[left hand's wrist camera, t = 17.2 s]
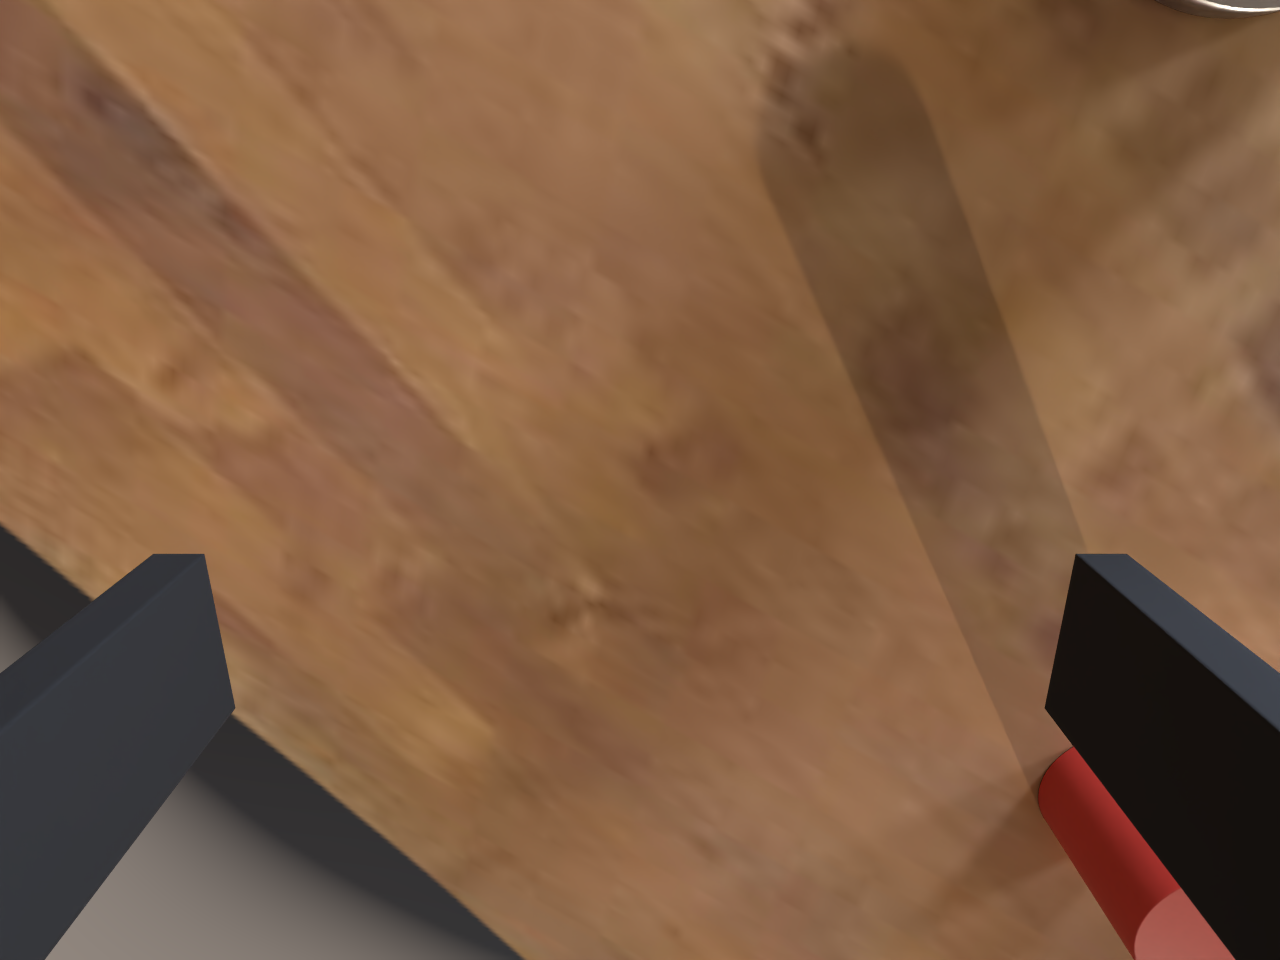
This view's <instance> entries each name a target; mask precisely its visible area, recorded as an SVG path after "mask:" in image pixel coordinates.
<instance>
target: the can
mask: <svg viewBox="0 0 1280 960" xmlns="http://www.w3.org/2000/svg"><path fill="white" fill-rule="evenodd" d="M1038 800H1039V807H1040V811H1041V813H1042V815H1043V817H1044V819H1045V820H1046V822H1047V823H1048V825H1049V827H1050V828H1051V830H1052V831H1053V833H1054V834H1055V836H1056V838H1057V839H1058V841H1059V842H1060V844H1061V845H1062V847H1063V849H1064V850H1065V852H1066V853H1067V855H1068V856H1069V858H1070V860H1071V861H1072V863H1073V864H1074V866H1075V867H1076V869H1077V871H1078V872H1079V874H1080V875H1081V877H1082V879H1083V880H1084V882H1085V883H1086V885H1087V886H1088V888H1089V890H1090V891H1091V893H1092V894H1093V896H1094V897H1095V899H1096V901H1097V902H1098V904H1099V905H1100V907H1101V908H1102V910H1103V912H1104V913H1105V915H1106V916H1107V918H1108V919H1109V921H1110V923H1111V924H1112V926H1113V927H1114V929H1115V931H1116V932H1117V934H1118V935H1119V937H1120V938H1121V940H1122V942H1123V943H1124V945H1125V946H1126V948H1127V949H1128V951H1129V953H1130V954H1131V956H1132V957H1133V959H1134V960H1235V959H1234V957H1233V956H1232V955H1231V953H1230V952H1229V951H1228V949H1227V948H1226V947H1225V945H1224V944H1223V943H1222V941H1221V940H1220V939H1219V937H1218V936H1217V935H1216V933H1215V932H1214V931H1213V930H1212V928H1211V927H1210V926H1209V924H1208V923H1207V922H1206V920H1205V919H1204V918H1203V916H1202V915H1201V914H1200V912H1199V911H1198V910H1197V908H1196V907H1195V906H1194V904H1193V903H1192V902H1191V901H1190V899H1189V898H1188V897H1187V895H1186V894H1185V893H1184V891H1183V890H1182V889H1181V887H1180V886H1179V885H1178V883H1177V882H1176V881H1175V879H1174V878H1173V877H1172V875H1171V874H1170V873H1169V871H1168V870H1167V869H1166V868H1165V866H1164V865H1163V864H1162V862H1161V861H1160V860H1159V858H1158V857H1157V856H1156V854H1155V853H1154V852H1153V850H1152V849H1151V848H1150V846H1149V845H1148V844H1147V842H1146V841H1145V840H1144V839H1143V837H1142V836H1141V835H1140V833H1139V832H1138V831H1137V829H1136V828H1135V827H1134V825H1133V824H1132V823H1131V821H1130V820H1129V819H1128V817H1127V816H1126V815H1125V813H1124V812H1123V811H1122V810H1121V808H1120V807H1119V806H1118V804H1117V803H1116V802H1115V800H1114V799H1113V798H1112V796H1111V795H1110V794H1109V792H1108V791H1107V790H1106V788H1105V787H1104V786H1103V784H1102V783H1101V782H1100V780H1099V779H1098V778H1097V777H1096V775H1095V774H1094V773H1093V771H1092V770H1091V769H1090V767H1089V766H1088V765H1087V763H1086V762H1085V761H1084V759H1083V758H1082V757H1081V755H1080V754H1079V753H1078V751H1077V750H1076V749H1075V748H1074V747H1072V748H1071V749H1069V750H1068V751H1066V752H1065V753H1063V754H1062V755H1061V756H1060V757H1059V758H1057V759H1056V761H1055V762H1054V763H1053V764H1052V765H1051V766H1050V767H1049V769H1048V770H1047V772H1046V773H1045V775H1044V777H1043V779H1042V781H1041V784H1040V788H1039V795H1038Z"/></svg>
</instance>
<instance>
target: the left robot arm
mask: <svg viewBox="0 0 1280 960" xmlns="http://www.w3.org/2000/svg"><path fill="white" fill-rule="evenodd" d="M1155 1H1157V2H1159V3H1161V4H1163V5H1166V6H1168V7H1170V8H1173V9H1175V10H1178V11H1182V12H1185V13H1188V14H1192V15H1197V16H1203V17H1209V18H1226V19H1230V18H1247V17H1253V16H1259V15H1265V14H1270V13H1274V12H1278V11H1280V0H1155ZM234 709H235V704H234V699H233V694H232V689H231V684H230V679H229V674H228V669H227V664H226V659H225V654H224V649H223V644H222V639H221V635H220V630H219V625H218V620H217V615H216V610H215V605H214V600H213V595H212V590H211V585H210V580H209V575H208V570H207V565H206V560H205V555H204V554H153V555H151V556H150V557H149V558H148V559H146V560H145V561H144V562H142V563H141V564H140V565H139V566H137V567H136V568H135V569H133V570H132V571H131V572H130V573H128V574H127V575H126V576H125V577H123V578H122V579H121V580H119V581H118V582H117V583H116V584H114V585H113V586H112V587H110V588H109V589H108V590H107V591H105V592H104V593H103V594H101V595H100V596H99V597H98V598H96V599H95V600H94V601H92V602H91V603H90V604H89V605H87V606H86V607H85V608H83V609H82V610H81V611H80V612H78V613H77V614H76V615H75V616H73V617H72V618H71V619H69V620H68V621H67V622H66V623H64V624H63V625H62V626H60V627H59V628H58V629H57V630H55V631H54V632H53V633H52V634H50V635H49V636H48V637H46V638H45V639H44V640H42V641H41V642H40V643H39V644H37V645H36V646H35V647H33V648H32V649H31V650H30V651H28V652H27V653H26V654H25V655H23V656H22V657H21V658H19V659H18V660H17V661H16V662H14V663H13V664H12V665H10V666H9V667H8V668H7V669H5V670H4V671H3V672H1V673H0V960H45V959H46V957H47V956H48V954H49V953H50V952H51V951H52V949H53V948H54V947H55V945H56V944H57V943H58V941H59V940H60V939H61V937H62V936H63V935H64V933H65V932H66V931H67V929H68V928H69V927H70V925H71V924H72V923H73V922H74V920H75V919H76V918H77V916H78V915H79V914H80V912H81V911H82V910H83V908H84V907H85V906H86V904H87V903H88V902H89V900H90V899H91V898H92V897H93V895H94V894H95V892H96V891H97V890H98V889H99V887H100V886H101V885H102V883H103V882H104V881H105V879H106V878H107V877H108V875H109V874H110V873H111V871H112V870H113V869H114V868H115V866H116V865H117V864H118V862H119V861H120V860H121V858H122V857H123V856H124V854H125V853H126V852H127V850H128V849H129V848H130V846H131V845H132V844H133V842H134V841H135V840H136V839H137V837H138V836H139V835H140V833H141V832H142V831H143V829H144V828H145V827H146V825H147V824H148V823H149V821H150V820H151V819H152V817H153V816H154V815H155V813H156V812H157V811H158V809H159V808H160V807H161V806H162V804H163V803H164V802H165V800H166V799H167V798H168V796H169V795H170V794H171V792H172V791H173V790H174V788H175V787H176V786H177V784H178V783H179V782H180V780H181V779H182V778H183V777H184V775H185V774H186V773H187V771H188V770H189V769H190V767H191V766H192V765H193V763H194V762H195V761H196V759H197V758H198V757H199V755H200V754H201V753H202V751H203V750H204V749H205V748H206V746H207V745H208V743H209V742H210V741H211V740H212V738H213V737H214V736H215V734H216V733H217V732H218V730H219V729H220V728H221V726H222V725H223V724H224V722H225V721H226V720H227V718H228V717H229V716H230V715H231V713H232V712H233V711H234ZM1045 709H1046V711H1047V712H1048V713H1049V715H1050V716H1051V717H1052V718H1053V720H1054V721H1055V722H1056V724H1057V725H1058V726H1059V728H1060V729H1061V730H1062V732H1063V733H1064V734H1065V736H1066V737H1067V738H1068V740H1069V741H1070V742H1071V744H1072V745H1073V746H1074V748H1075V749H1076V750H1077V751H1078V753H1079V754H1080V755H1081V757H1082V758H1083V759H1084V761H1085V762H1086V763H1087V765H1088V766H1089V767H1090V769H1091V770H1092V771H1093V773H1094V774H1095V775H1096V777H1097V778H1098V779H1099V780H1100V782H1101V783H1102V784H1103V786H1104V787H1105V788H1106V790H1107V791H1108V792H1109V794H1110V795H1111V796H1112V798H1113V799H1114V800H1115V802H1116V803H1117V804H1118V806H1119V807H1120V808H1121V810H1122V811H1123V812H1124V813H1125V815H1126V816H1127V817H1128V819H1129V820H1130V821H1131V823H1132V824H1133V825H1134V827H1135V828H1136V829H1137V831H1138V832H1139V833H1140V835H1141V836H1142V837H1143V839H1144V840H1145V841H1146V842H1147V844H1148V845H1149V846H1150V848H1151V849H1152V850H1153V852H1154V853H1155V854H1156V856H1157V857H1158V858H1159V860H1160V861H1161V862H1162V864H1163V865H1164V866H1165V868H1166V869H1167V870H1168V871H1169V873H1170V874H1171V875H1172V877H1173V878H1174V879H1175V881H1176V882H1177V883H1178V885H1179V886H1180V887H1181V889H1182V890H1183V891H1184V893H1185V894H1186V895H1187V897H1188V898H1189V899H1190V901H1191V902H1192V903H1193V904H1194V906H1195V907H1196V908H1197V910H1198V911H1199V912H1200V914H1201V915H1202V916H1203V918H1204V919H1205V920H1206V922H1207V923H1208V924H1209V926H1210V927H1211V928H1212V930H1213V931H1214V932H1215V933H1216V935H1217V936H1218V937H1219V939H1220V940H1221V941H1222V943H1223V944H1224V945H1225V947H1226V948H1227V949H1228V951H1229V952H1230V953H1231V955H1232V956H1233V957H1234V959H1235V960H1280V673H1279V672H1277V671H1276V670H1275V669H1273V668H1272V667H1271V666H1270V665H1268V664H1267V663H1266V662H1264V661H1263V660H1262V659H1261V658H1259V657H1258V656H1257V655H1255V654H1254V653H1253V652H1252V651H1250V650H1249V649H1248V648H1247V647H1245V646H1244V645H1243V644H1241V643H1240V642H1239V641H1238V640H1236V639H1235V638H1234V637H1232V636H1231V635H1230V634H1229V633H1227V632H1226V631H1225V630H1223V629H1222V628H1221V627H1220V626H1218V625H1217V624H1216V623H1214V622H1213V621H1212V620H1211V619H1209V618H1208V617H1207V616H1205V615H1204V614H1203V613H1202V612H1200V611H1199V610H1198V609H1197V608H1195V607H1194V606H1193V605H1191V604H1190V603H1189V602H1188V601H1186V600H1185V599H1184V598H1182V597H1181V596H1180V595H1179V594H1177V593H1176V592H1175V591H1173V590H1172V589H1171V588H1170V587H1168V586H1167V585H1166V584H1164V583H1163V582H1162V581H1161V580H1159V579H1158V578H1157V577H1155V576H1154V575H1153V574H1152V573H1150V572H1149V571H1148V570H1147V569H1145V568H1144V567H1143V566H1141V565H1140V564H1139V563H1138V562H1136V561H1135V560H1134V559H1132V558H1131V557H1130V556H1129V555H1127V554H1076V555H1075V560H1074V565H1073V570H1072V575H1071V580H1070V585H1069V590H1068V595H1067V600H1066V605H1065V610H1064V615H1063V620H1062V625H1061V630H1060V635H1059V639H1058V644H1057V649H1056V654H1055V659H1054V664H1053V669H1052V674H1051V679H1050V684H1049V689H1048V694H1047V699H1046V704H1045Z"/></svg>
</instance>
